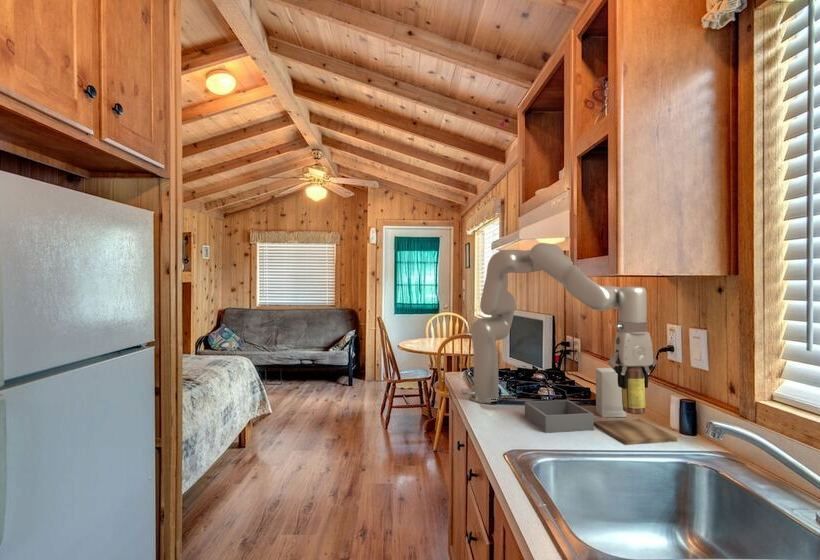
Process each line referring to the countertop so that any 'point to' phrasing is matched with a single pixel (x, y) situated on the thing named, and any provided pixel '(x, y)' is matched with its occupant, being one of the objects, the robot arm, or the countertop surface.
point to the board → (634, 431)
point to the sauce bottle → (634, 391)
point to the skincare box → (608, 393)
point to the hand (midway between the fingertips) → (632, 386)
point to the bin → (559, 416)
